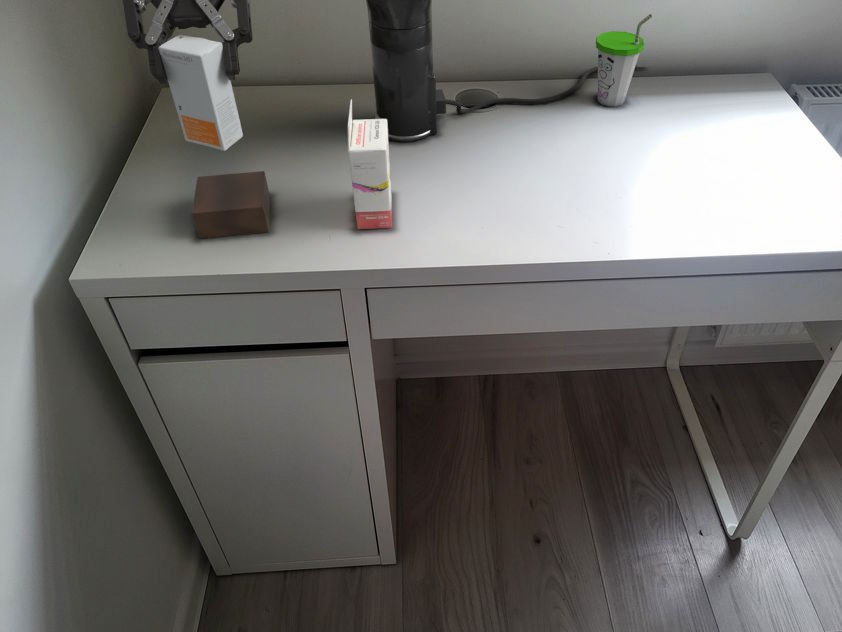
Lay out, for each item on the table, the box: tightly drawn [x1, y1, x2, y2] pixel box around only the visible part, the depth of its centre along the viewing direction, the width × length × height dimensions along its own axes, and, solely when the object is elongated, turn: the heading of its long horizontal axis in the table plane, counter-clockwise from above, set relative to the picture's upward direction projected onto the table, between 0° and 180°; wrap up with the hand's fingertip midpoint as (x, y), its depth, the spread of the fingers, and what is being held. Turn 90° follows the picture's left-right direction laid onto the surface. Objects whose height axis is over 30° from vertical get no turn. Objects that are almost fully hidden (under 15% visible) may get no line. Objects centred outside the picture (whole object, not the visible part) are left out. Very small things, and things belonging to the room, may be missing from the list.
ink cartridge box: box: [347, 98, 393, 230], centre depth 93 cm, size 9×5×15 cm, turn 5°
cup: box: [595, 13, 653, 108], centre depth 117 cm, size 8×8×15 cm
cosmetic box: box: [159, 34, 244, 152], centre depth 85 cm, size 6×4×12 cm
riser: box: [191, 170, 271, 239], centre depth 96 cm, size 9×9×4 cm
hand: (197, 79), depth 82 cm, fingers closed on cosmetic box, 7 cm apart
